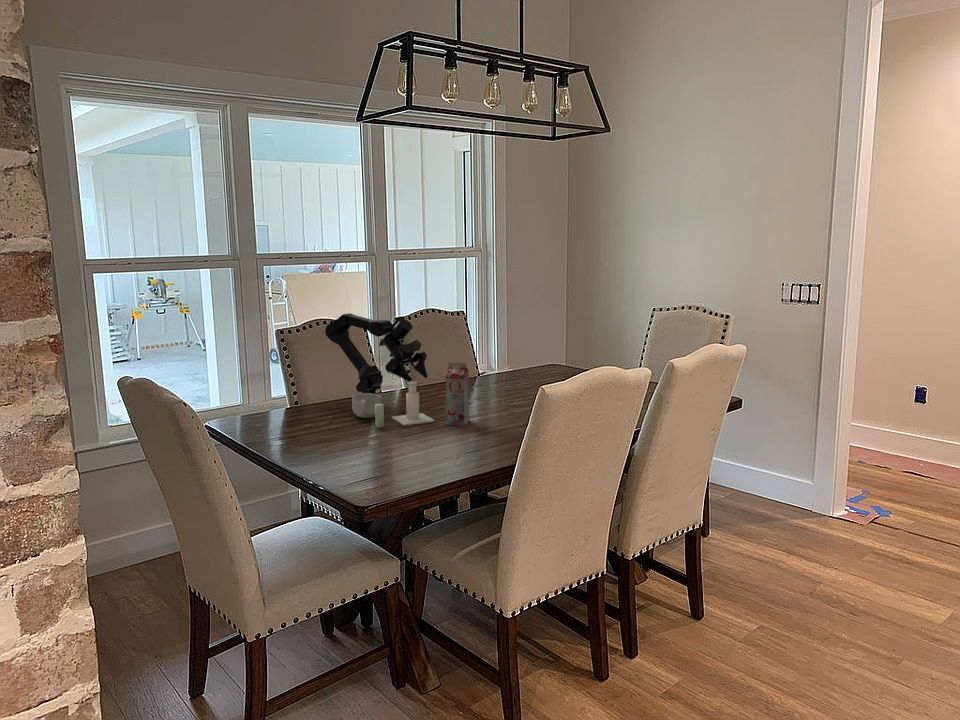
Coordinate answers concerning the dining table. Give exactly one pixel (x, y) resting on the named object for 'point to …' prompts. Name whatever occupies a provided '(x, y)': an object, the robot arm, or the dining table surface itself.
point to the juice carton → (457, 394)
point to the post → (379, 415)
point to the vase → (412, 401)
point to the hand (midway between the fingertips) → (419, 379)
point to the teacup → (365, 404)
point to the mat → (405, 421)
